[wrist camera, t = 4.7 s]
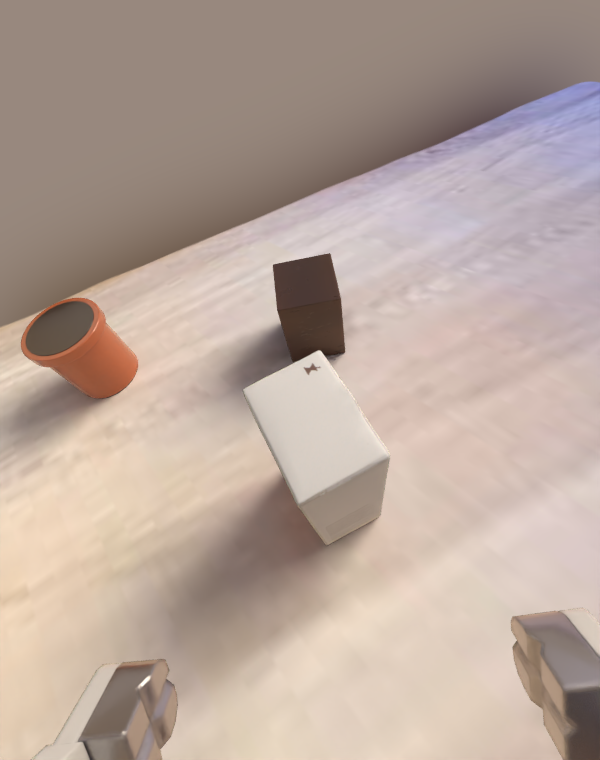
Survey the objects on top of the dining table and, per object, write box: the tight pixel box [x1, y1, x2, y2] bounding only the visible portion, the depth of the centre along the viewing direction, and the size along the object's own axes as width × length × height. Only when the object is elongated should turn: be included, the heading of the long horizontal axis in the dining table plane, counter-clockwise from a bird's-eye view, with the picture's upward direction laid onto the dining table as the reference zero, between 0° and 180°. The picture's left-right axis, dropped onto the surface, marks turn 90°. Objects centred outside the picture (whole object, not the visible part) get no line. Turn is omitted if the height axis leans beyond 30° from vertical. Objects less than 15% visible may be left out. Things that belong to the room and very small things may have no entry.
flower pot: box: [21, 298, 138, 399], centre depth 31 cm, size 6×6×7 cm
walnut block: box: [273, 253, 345, 362], centre depth 30 cm, size 5×5×6 cm
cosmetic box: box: [243, 350, 390, 545], centre depth 20 cm, size 6×4×12 cm
